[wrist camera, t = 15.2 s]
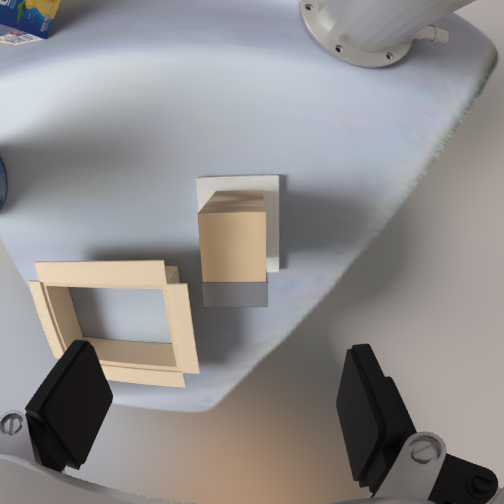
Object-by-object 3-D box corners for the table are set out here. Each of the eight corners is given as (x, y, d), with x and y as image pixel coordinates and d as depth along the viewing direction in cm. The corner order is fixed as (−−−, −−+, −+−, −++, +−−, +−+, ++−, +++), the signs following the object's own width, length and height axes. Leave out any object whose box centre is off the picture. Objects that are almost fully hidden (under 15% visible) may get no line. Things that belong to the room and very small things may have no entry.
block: (263, 190, 30) (267, 212, 20) (263, 257, 32) (267, 307, 22) (214, 191, 30) (195, 213, 20) (218, 258, 32) (203, 307, 22)
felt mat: (278, 174, 30) (278, 175, 29) (278, 268, 33) (279, 271, 32) (197, 177, 30) (196, 178, 29) (204, 270, 33) (203, 273, 33)
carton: (193, 244, 32) (184, 260, 28) (207, 362, 38) (202, 388, 33) (44, 248, 33) (23, 262, 28) (75, 351, 38) (61, 371, 33)
